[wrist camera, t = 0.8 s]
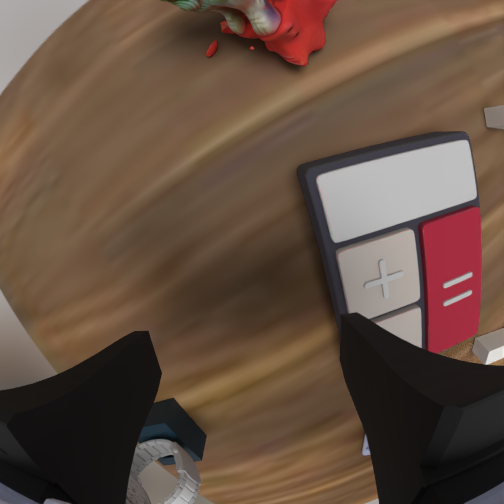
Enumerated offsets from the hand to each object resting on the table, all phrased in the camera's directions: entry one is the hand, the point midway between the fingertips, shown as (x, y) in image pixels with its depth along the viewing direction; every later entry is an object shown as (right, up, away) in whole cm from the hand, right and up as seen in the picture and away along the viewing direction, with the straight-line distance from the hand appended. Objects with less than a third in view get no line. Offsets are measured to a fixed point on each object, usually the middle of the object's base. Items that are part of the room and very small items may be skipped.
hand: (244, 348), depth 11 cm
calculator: (+10, +3, +9) cm, 14 cm away
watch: (-7, -12, +14) cm, 20 cm away
